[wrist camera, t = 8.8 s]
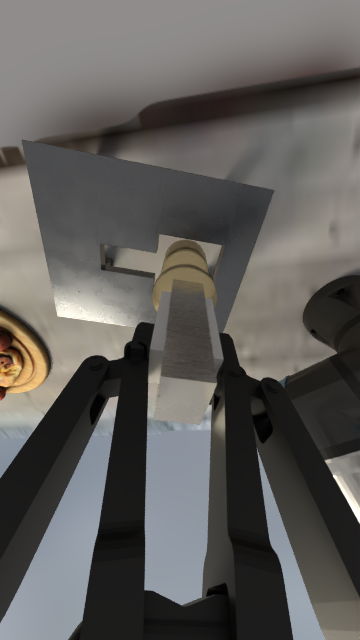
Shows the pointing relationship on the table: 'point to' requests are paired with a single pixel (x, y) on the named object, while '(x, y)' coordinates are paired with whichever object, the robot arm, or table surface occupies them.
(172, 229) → the shelf
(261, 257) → the table surface
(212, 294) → the brass hanging weight
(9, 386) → the wooden plate with food
